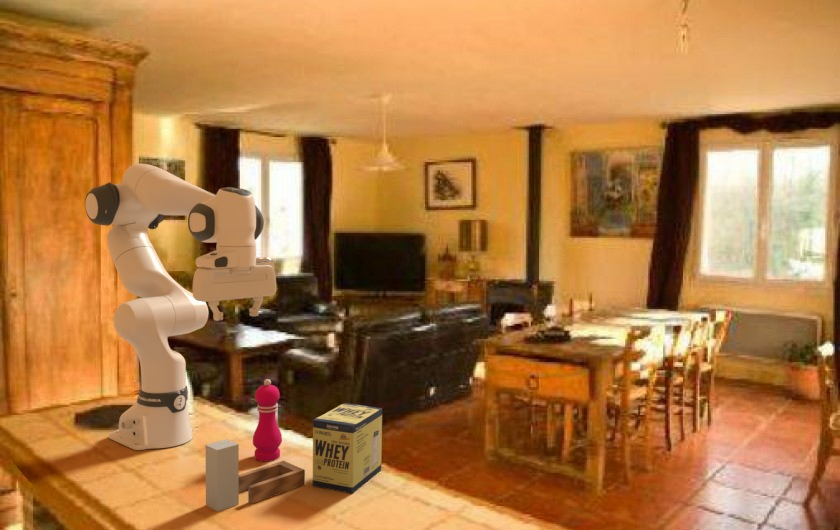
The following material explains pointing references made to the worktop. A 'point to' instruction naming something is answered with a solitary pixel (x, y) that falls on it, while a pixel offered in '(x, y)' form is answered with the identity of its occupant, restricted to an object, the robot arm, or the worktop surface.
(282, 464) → the rack
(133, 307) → the robot arm
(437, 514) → the worktop surface
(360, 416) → the protein box
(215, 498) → the tall white pillar
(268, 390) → the pepper mill
